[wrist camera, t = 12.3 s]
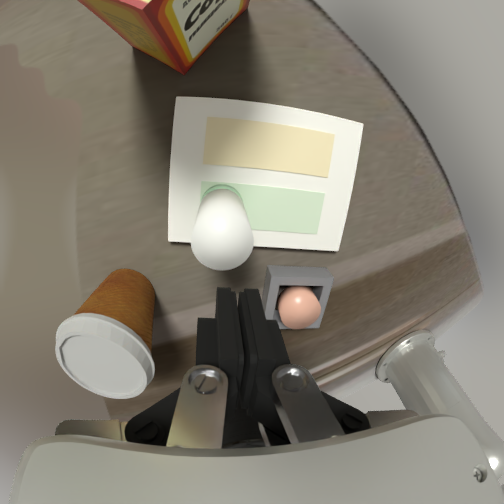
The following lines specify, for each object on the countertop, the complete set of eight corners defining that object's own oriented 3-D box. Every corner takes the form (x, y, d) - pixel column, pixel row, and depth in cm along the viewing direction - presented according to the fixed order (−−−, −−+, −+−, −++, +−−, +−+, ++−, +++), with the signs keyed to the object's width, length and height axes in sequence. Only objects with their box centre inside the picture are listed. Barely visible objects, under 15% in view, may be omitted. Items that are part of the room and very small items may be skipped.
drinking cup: (275, 360, 37) (308, 490, 19) (251, 390, 39) (271, 506, 21) (225, 348, 35) (239, 494, 17) (205, 380, 37) (210, 507, 19)
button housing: (326, 267, 31) (334, 278, 29) (313, 315, 34) (318, 327, 32) (267, 265, 30) (271, 276, 28) (259, 316, 33) (262, 329, 31)
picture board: (359, 123, 24) (363, 124, 24) (335, 248, 30) (338, 251, 29) (177, 97, 22) (175, 96, 21) (169, 238, 27) (168, 241, 27)
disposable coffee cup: (119, 238, 27) (73, 305, 16) (185, 292, 30) (175, 375, 20) (80, 290, 29) (39, 359, 18) (139, 335, 32) (121, 411, 22)
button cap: (318, 284, 30) (325, 296, 28) (309, 315, 32) (315, 328, 30) (280, 283, 29) (285, 296, 27) (273, 316, 31) (277, 329, 29)
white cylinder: (244, 185, 25) (257, 214, 17) (240, 226, 27) (250, 271, 19) (201, 182, 25) (191, 210, 16) (199, 223, 26) (190, 268, 18)
